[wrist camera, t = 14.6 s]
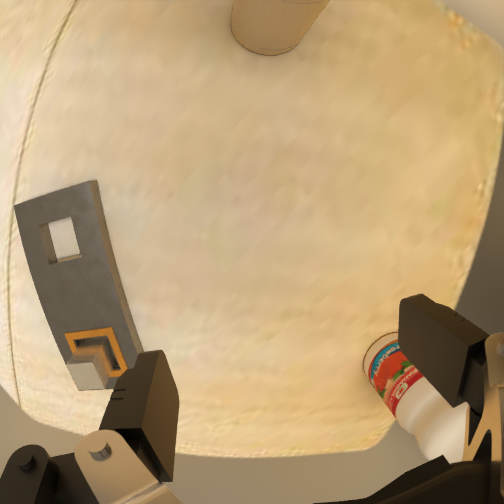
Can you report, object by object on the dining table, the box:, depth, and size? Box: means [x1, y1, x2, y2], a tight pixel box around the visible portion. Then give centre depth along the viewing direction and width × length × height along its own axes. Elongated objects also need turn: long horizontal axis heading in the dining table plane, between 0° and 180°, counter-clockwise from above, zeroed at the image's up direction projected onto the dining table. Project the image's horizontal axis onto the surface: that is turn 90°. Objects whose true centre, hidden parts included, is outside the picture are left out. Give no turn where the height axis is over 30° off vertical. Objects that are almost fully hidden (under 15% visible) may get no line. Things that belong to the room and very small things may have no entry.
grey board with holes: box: [14, 180, 144, 391], centre depth 38 cm, size 28×12×3 cm, turn 10°
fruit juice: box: [364, 333, 468, 463], centre depth 33 cm, size 9×9×28 cm
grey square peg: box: [66, 336, 117, 390], centre depth 37 cm, size 4×4×8 cm
